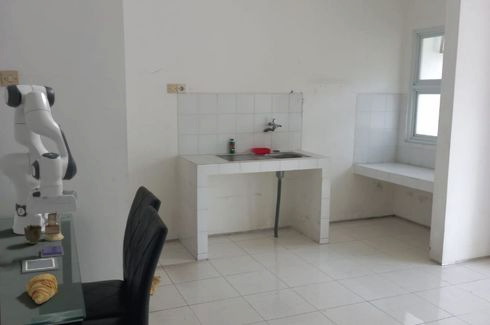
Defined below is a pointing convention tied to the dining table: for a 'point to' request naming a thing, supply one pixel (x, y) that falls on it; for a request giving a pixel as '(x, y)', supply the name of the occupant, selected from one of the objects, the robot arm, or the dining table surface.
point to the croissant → (42, 287)
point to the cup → (33, 233)
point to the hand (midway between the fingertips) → (52, 222)
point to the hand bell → (54, 236)
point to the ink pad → (52, 251)
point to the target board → (39, 265)
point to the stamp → (52, 225)
